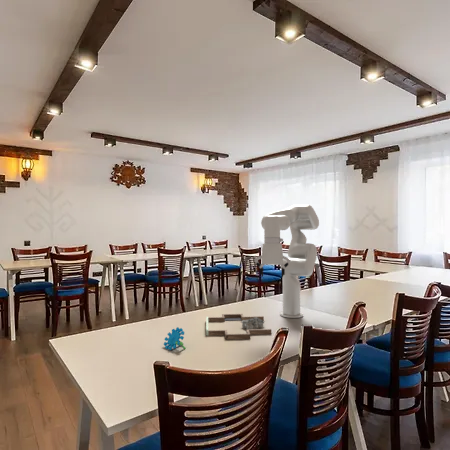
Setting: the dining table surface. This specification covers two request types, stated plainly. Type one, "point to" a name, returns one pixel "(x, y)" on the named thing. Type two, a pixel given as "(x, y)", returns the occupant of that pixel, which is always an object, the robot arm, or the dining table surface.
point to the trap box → (236, 336)
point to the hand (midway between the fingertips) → (272, 276)
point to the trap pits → (232, 319)
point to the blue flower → (174, 339)
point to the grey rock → (252, 323)
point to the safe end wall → (206, 326)
